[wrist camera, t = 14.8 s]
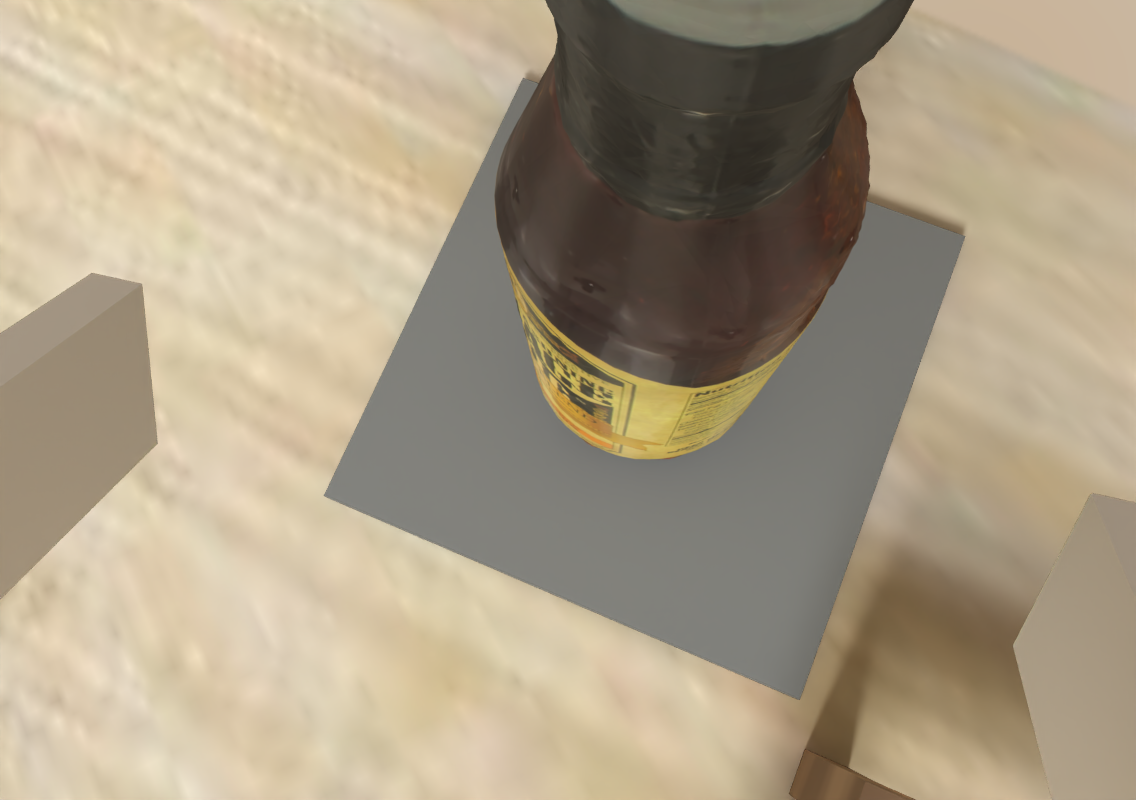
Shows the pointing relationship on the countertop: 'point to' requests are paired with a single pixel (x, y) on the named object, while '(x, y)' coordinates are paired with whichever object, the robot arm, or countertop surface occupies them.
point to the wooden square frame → (836, 782)
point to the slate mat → (651, 486)
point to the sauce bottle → (683, 204)
